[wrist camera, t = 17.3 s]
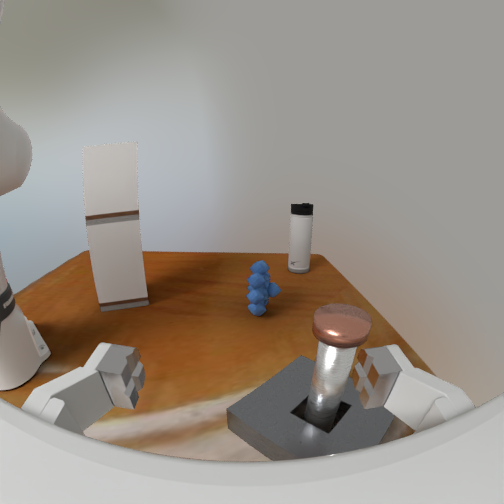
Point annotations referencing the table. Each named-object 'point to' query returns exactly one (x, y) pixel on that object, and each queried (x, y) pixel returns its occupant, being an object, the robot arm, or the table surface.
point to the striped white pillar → (114, 225)
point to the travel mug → (300, 237)
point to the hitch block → (297, 430)
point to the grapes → (260, 288)
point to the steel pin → (334, 359)
